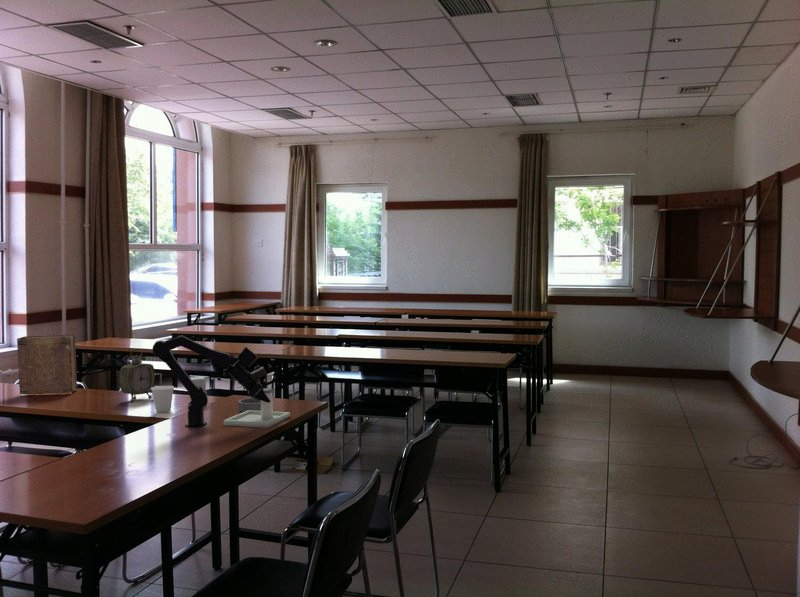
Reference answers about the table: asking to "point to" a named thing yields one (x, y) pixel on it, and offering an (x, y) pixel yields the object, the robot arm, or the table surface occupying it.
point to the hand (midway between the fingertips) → (268, 399)
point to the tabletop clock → (137, 377)
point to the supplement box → (199, 382)
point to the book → (47, 364)
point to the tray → (255, 419)
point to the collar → (249, 404)
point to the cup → (162, 398)
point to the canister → (267, 405)
